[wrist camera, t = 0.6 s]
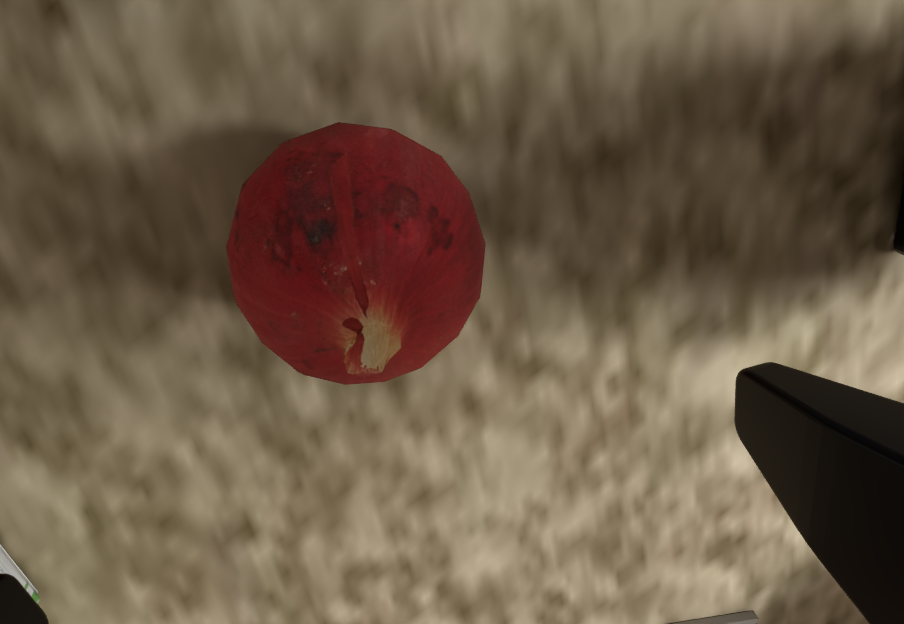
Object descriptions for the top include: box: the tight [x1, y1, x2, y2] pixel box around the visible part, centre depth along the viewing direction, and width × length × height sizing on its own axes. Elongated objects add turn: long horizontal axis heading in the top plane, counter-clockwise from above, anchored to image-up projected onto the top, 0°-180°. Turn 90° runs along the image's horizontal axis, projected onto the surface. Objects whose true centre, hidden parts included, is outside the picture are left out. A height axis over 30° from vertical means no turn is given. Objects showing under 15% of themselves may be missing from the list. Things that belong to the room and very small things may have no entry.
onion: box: [226, 122, 485, 385], centre depth 14 cm, size 6×6×8 cm
